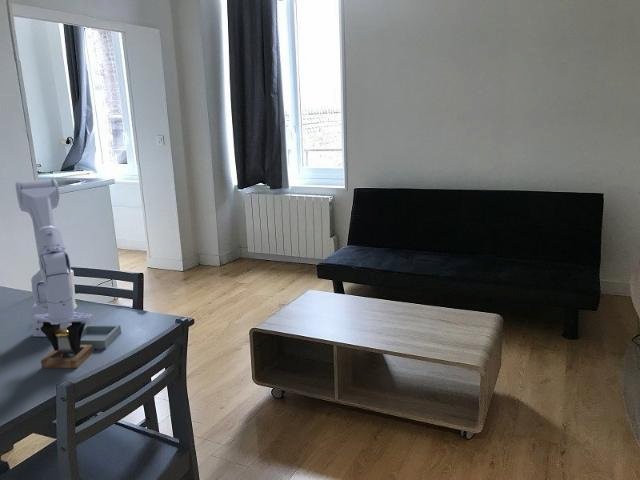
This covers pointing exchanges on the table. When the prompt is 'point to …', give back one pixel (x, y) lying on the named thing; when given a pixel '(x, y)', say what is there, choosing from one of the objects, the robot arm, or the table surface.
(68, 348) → the jar with gold lid
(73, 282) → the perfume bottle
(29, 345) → the table surface
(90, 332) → the tray
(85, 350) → the socket block
